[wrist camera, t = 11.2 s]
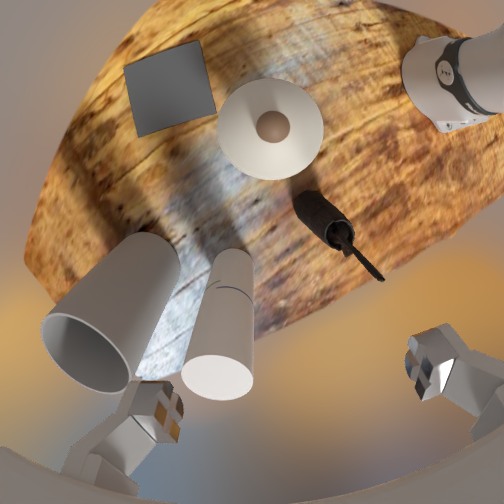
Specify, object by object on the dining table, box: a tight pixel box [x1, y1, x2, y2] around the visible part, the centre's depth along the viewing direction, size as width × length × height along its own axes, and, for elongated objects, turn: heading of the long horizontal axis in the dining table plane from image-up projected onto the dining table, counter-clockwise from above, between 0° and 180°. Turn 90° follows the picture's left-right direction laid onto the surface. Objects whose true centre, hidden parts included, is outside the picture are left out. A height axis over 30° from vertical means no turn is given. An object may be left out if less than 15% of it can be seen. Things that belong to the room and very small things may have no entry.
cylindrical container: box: [181, 249, 254, 400], centre depth 37 cm, size 7×7×25 cm
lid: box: [217, 78, 323, 180], centre depth 25 cm, size 11×11×5 cm
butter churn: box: [294, 190, 385, 282], centre depth 31 cm, size 9×10×28 cm
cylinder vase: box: [41, 232, 180, 394], centre depth 37 cm, size 12×12×25 cm
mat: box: [123, 40, 217, 138], centre depth 36 cm, size 13×13×1 cm
